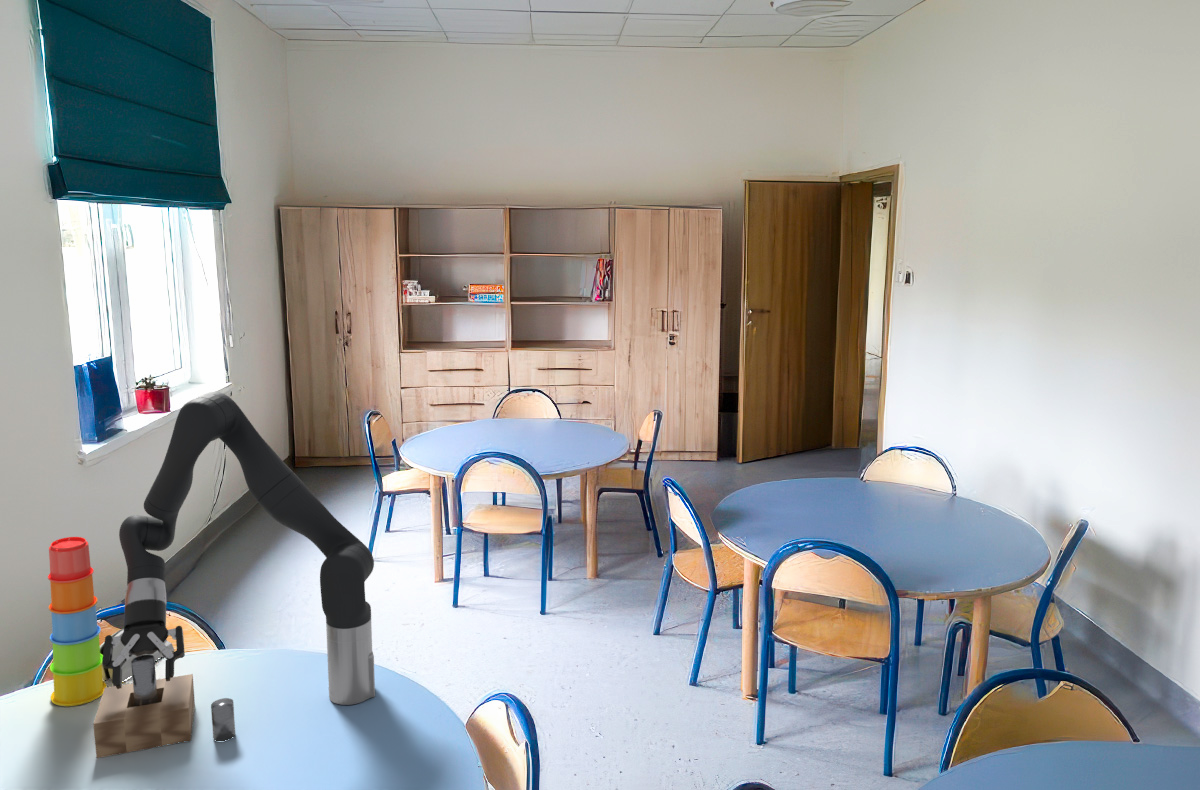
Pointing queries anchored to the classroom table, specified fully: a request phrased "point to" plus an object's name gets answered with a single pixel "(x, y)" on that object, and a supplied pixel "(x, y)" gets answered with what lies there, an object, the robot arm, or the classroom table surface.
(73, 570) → the stacking cups
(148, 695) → the long pin
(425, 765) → the classroom table surface
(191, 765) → the classroom table surface
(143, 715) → the bore block
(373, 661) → the robot arm
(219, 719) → the short pin
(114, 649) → the grey curved housing
